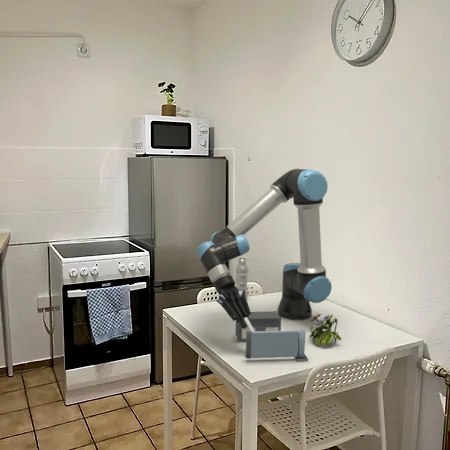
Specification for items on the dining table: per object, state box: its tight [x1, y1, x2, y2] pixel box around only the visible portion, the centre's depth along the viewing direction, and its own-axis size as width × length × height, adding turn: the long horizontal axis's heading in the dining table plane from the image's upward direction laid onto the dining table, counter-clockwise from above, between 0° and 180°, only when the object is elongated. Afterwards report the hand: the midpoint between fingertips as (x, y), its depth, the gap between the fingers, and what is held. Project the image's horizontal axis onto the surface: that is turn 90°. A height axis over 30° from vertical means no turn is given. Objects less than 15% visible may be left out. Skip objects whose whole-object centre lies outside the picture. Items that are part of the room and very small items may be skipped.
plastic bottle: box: [234, 257, 249, 300], centre depth 238 cm, size 6×7×20 cm
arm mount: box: [293, 353, 309, 362], centre depth 171 cm, size 4×4×1 cm
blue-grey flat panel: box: [245, 329, 307, 360], centre depth 169 cm, size 21×2×9 cm, turn 98°
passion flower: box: [308, 313, 342, 347], centre depth 187 cm, size 13×12×14 cm
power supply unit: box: [235, 310, 282, 343], centre depth 189 cm, size 16×9×9 cm, turn 98°
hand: (252, 335), depth 173 cm, fingers closed
